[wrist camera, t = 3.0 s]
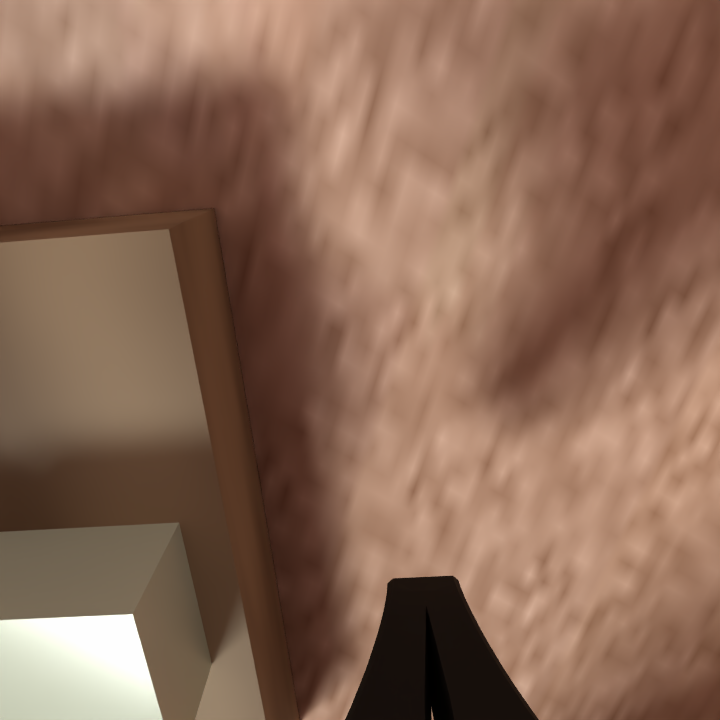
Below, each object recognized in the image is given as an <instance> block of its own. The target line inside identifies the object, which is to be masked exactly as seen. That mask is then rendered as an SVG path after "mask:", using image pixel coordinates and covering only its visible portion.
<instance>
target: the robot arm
mask: <svg viewBox="0 0 720 720" xmlns="http://www.w3.org/2000/svg"><path fill="white" fill-rule="evenodd" d="M431 707H432V712H433V718H434V720H539V719H538V718H537V717H536V715H535V714H534V713H533V711H532V710H531V708H530V707H529V706H528V704H527V703H526V701H525V700H524V698H523V697H522V695H521V694H520V692H519V691H518V690H517V688H516V687H515V685H514V684H513V682H512V681H511V679H510V678H509V676H508V674H507V673H506V671H505V670H504V668H503V667H502V665H501V663H500V662H499V660H498V658H497V657H496V655H495V653H494V652H493V650H492V648H491V647H490V645H489V643H488V642H487V640H486V638H485V636H484V635H483V633H482V631H481V629H480V627H479V625H478V623H477V621H476V620H475V618H474V616H473V614H472V612H471V610H470V608H469V606H468V603H467V601H466V599H465V597H464V594H463V592H462V589H461V587H460V584H459V581H458V580H457V579H456V578H455V577H454V576H438V577H416V578H395V579H392V580H391V581H390V582H389V583H388V585H387V596H386V602H385V607H384V612H383V616H382V620H381V624H380V627H379V631H378V635H377V638H376V641H375V644H374V647H373V650H372V653H371V656H370V659H369V662H368V665H367V668H366V670H365V673H364V676H363V678H362V681H361V683H360V686H359V688H358V691H357V693H356V696H355V698H354V700H353V703H352V705H351V708H350V710H349V712H348V715H347V717H346V719H345V720H431Z"/></svg>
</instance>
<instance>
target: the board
mask: <svg viewBox="0 0 720 720" xmlns="http://www.w3.org/2000/svg"><path fill="white" fill-rule="evenodd" d="M160 523H179V524H180V529H181V533H182V537H183V542H184V546H185V550H186V555H187V559H188V563H189V568H190V572H191V576H192V580H193V585H194V589H195V593H196V598H197V602H198V606H199V611H200V615H201V619H202V624H203V628H204V632H205V636H206V641H207V645H208V649H209V654H210V658H211V662H212V666H211V669H210V672H209V675H208V679H207V682H206V685H205V688H204V692H203V695H202V698H201V701H200V705H199V708H198V711H197V714H196V718H195V720H299V714H298V708H297V702H296V696H295V690H294V684H293V678H292V672H291V666H290V660H289V654H288V648H287V642H286V636H285V630H284V624H283V618H282V612H281V606H280V600H279V594H278V588H277V582H276V576H275V570H274V564H273V558H272V552H271V546H270V540H269V534H268V528H267V522H266V516H265V510H264V504H263V498H262V492H261V486H260V480H259V474H258V468H257V462H256V456H255V450H254V444H253V438H252V432H251V426H250V420H249V414H248V408H247V402H246V396H245V390H244V384H243V378H242V372H241V366H240V360H239V354H238V348H237V342H236V337H235V331H234V325H233V319H232V313H231V307H230V301H229V295H228V289H227V283H226V277H225V271H224V265H223V259H222V253H221V247H220V241H219V235H218V229H217V223H216V217H215V211H214V208H212V209H200V210H188V211H175V212H163V213H151V214H139V215H126V216H114V217H102V218H90V219H77V220H65V221H53V222H40V223H28V224H16V225H4V226H0V532H8V531H27V530H46V529H65V528H84V527H103V526H122V525H141V524H160Z"/></svg>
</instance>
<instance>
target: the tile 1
mask: <svg viewBox="0 0 720 720" xmlns="http://www.w3.org/2000/svg"><path fill="white" fill-rule="evenodd" d="M211 666H212V662H211V658H210V654H209V649H208V645H207V641H206V636H205V632H204V628H203V624H202V619H201V615H200V611H199V606H198V602H197V598H196V593H195V589H194V585H193V580H192V576H191V572H190V568H189V563H188V559H187V555H186V550H185V546H184V542H183V537H182V533H181V529H180V524H179V523H160V524H141V525H122V526H103V527H84V528H65V529H46V530H27V531H8V532H0V720H195V718H196V714H197V711H198V708H199V705H200V701H201V698H202V695H203V692H204V688H205V685H206V682H207V679H208V675H209V672H210V669H211Z"/></svg>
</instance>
